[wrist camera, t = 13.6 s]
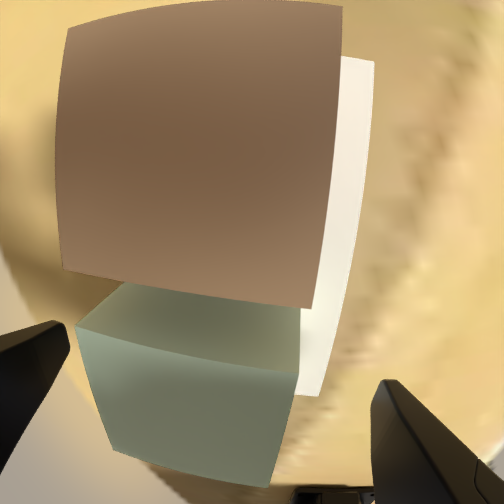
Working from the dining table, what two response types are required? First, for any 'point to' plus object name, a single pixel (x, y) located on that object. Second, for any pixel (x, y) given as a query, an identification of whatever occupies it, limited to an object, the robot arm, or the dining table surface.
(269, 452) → the sage cube
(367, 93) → the base slab
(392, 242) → the dining table surface
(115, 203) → the walnut cube
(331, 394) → the dining table surface
